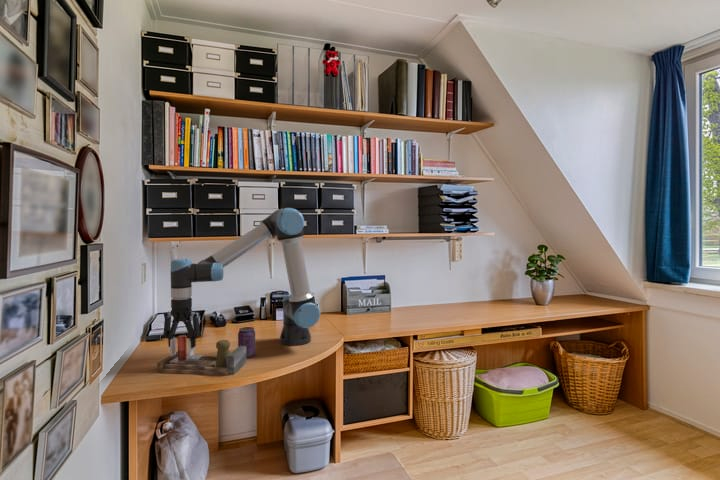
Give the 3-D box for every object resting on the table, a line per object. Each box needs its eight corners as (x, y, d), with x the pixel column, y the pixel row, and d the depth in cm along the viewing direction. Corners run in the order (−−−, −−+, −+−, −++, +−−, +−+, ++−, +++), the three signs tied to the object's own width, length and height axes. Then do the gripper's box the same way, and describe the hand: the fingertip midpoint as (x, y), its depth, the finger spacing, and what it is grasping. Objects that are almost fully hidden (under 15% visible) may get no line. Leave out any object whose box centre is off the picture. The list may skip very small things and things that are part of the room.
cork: (212, 370, 148) (211, 342, 148) (220, 364, 154) (219, 337, 154) (226, 371, 147) (226, 343, 147) (234, 365, 153) (233, 338, 153)
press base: (247, 362, 157) (247, 345, 157) (232, 375, 143) (232, 357, 143) (178, 359, 160) (177, 343, 160) (157, 372, 146) (156, 354, 146)
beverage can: (245, 352, 169) (245, 326, 168) (258, 354, 166) (258, 327, 166) (234, 357, 162) (234, 330, 162) (248, 360, 160) (248, 331, 159)
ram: (206, 360, 155) (206, 334, 155) (196, 367, 147) (195, 339, 147) (180, 359, 156) (180, 333, 156) (169, 366, 148) (168, 339, 148)
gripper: (209, 296, 154) (210, 352, 155) (163, 295, 156) (164, 351, 157) (200, 300, 147) (201, 359, 147) (151, 299, 148) (152, 357, 149)
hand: (182, 355), depth 152 cm, fingers open, 7 cm apart
